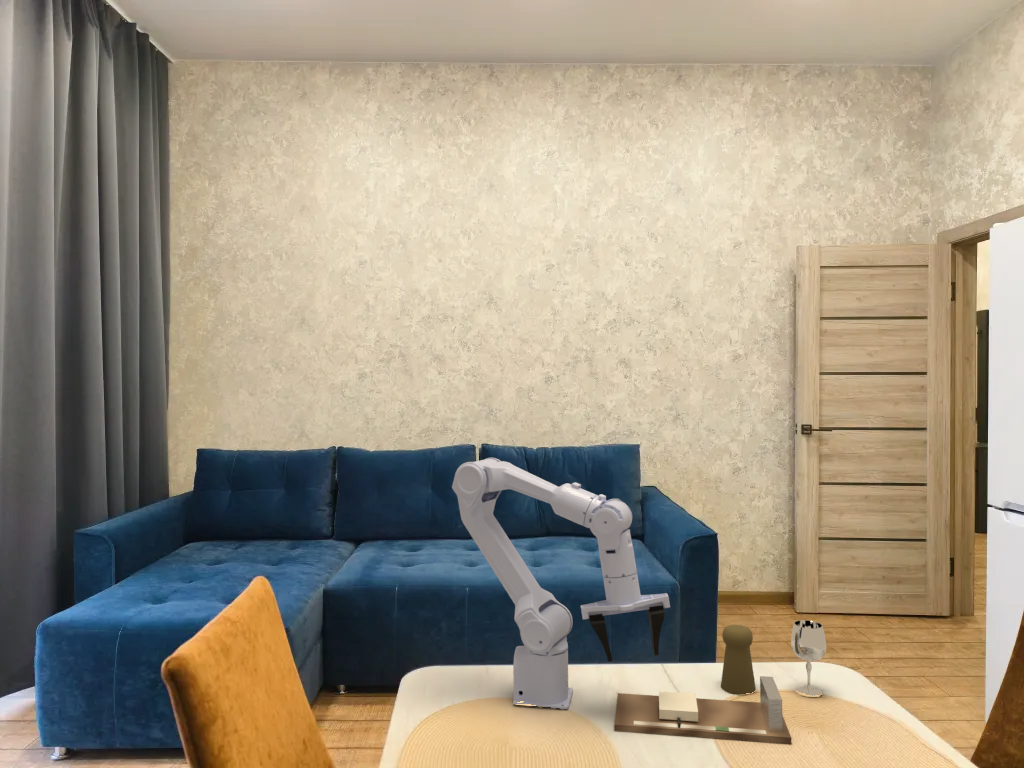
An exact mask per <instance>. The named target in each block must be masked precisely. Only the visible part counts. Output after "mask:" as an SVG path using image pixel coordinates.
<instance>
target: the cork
mask: <svg viewBox="0 0 1024 768" xmlns="http://www.w3.org/2000/svg"><path fill="white" fill-rule="evenodd" d="M721 634H722V635H721V636H722V640H723V643H724V644H725V650H724V658H723V665H722V673H721V683H720V689H721V690H722V691H724V692H725V693H728V694H731V695H735V694H746V693H752V692H754V691H755V690H757V688H756V682H755V674H754V668H753V662H752V661H753V660H752V653H751V646H752V643H753V639H754V638H753V637H754V636H753V633H752V631H751V629H750V628H748V627H747V626H744V625H742V624H741V625H740V624H729V625H726V626H725V627H724V628H723V631H722V633H721ZM754 693H755V692H754Z"/></svg>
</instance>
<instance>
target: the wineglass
mask: <svg viewBox="0 0 1024 768" xmlns="http://www.w3.org/2000/svg"><path fill="white" fill-rule="evenodd" d="M792 625H793V626H792V629H791V637H790V646H791V650H792V652H793V653H794V656H796V657H798V658H799V659H800V660H802V661H806V663H805V669H806V673H807V674H806V675H807V684H806V686H799V687H797V688H795V692H796V691H798V692H801V693H805V694H806V695H812V696H813V695H814V696H815V695H822V696H823V692H822V690H820V689H818V688H815V687H812V684H811V672H812V670H813V669H812V662H817V661H819V660H822V658H823V657H824V656H825V655H826V651H827V640H826V634H825V630H824V627H823V624H822V623H820V622H819V621H818V622H817V621H813V620H806V619H802V620H801V619H799V620H796V621H794V622H793V624H792Z"/></svg>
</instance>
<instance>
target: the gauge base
mask: <svg viewBox="0 0 1024 768" xmlns="http://www.w3.org/2000/svg"><path fill="white" fill-rule="evenodd" d="M696 701H697V708H698V722H697V721H683V720H681V725H678V724H677V720H669V719H659V695H653V694H651V695H650V694H637V693H622V692H618V693H617V697H616V705H615V706H616V708H615V716H614V717H615V718H614V725H613V727H614V729H613V730H614V732H625V733H626V732H627V733H635V734H636V733H637V734H638V733H639V734H651V735H663V736H664V735H665V736H678V737H690V738H691V737H692V738H701V739H702V738H703V739H704V738H705V739H717V740H718V739H719V740H732V741H742V742H757V743H758V742H759V743H768V742H770V743H772V744H784V745H792V736H791V733H790V731H789V728H788V726H787V724H786V721H785V717H784V716H783V714H782V722H783V732H769V730H768V727H767V724H766V721H765V718H764V715H763V712H762V709H761V706H760V702H757V701H746V700H745V701H743V700H727V699H726V700H725V699H716V698H715V699H712V698H697V697H696Z"/></svg>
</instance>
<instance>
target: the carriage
mask: <svg viewBox="0 0 1024 768" xmlns="http://www.w3.org/2000/svg"><path fill="white" fill-rule="evenodd" d="M658 696H659V719H669V720H677V724H678V725H681V720H683V721H697V722H698V708H697V701H696V698H697V695H696V693H693V692H692V693H691V692H689V693H688V692H675V691H662V690H661V691H660V690H659V691H658Z"/></svg>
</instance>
